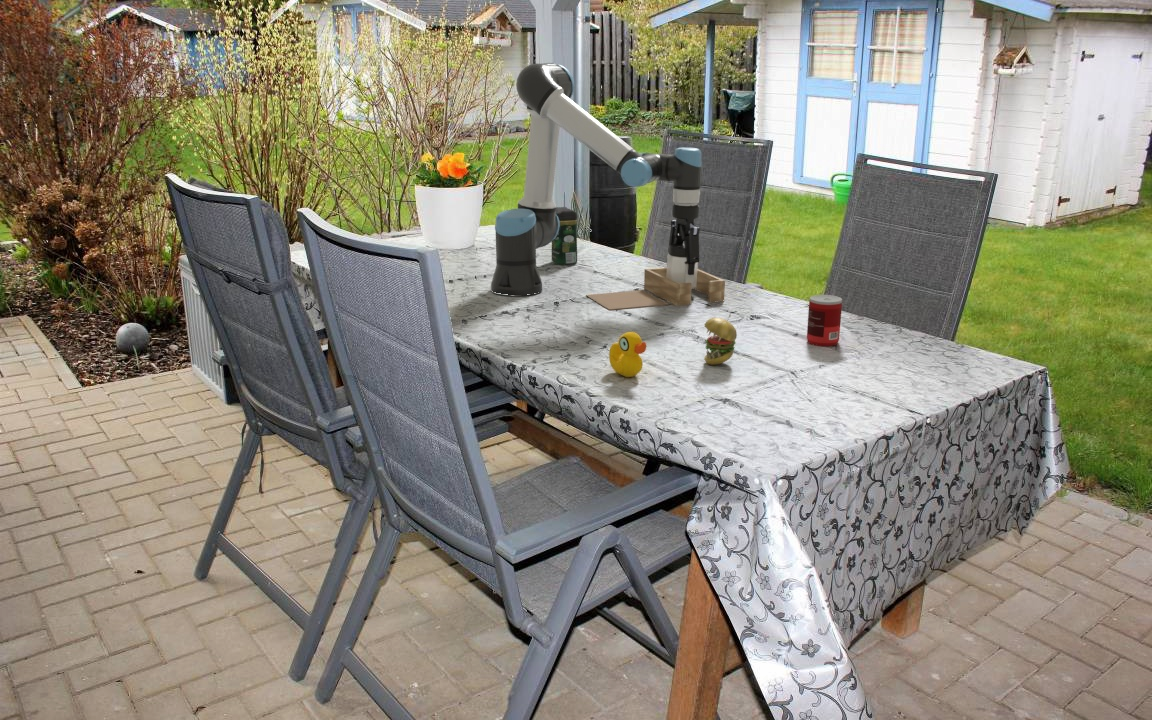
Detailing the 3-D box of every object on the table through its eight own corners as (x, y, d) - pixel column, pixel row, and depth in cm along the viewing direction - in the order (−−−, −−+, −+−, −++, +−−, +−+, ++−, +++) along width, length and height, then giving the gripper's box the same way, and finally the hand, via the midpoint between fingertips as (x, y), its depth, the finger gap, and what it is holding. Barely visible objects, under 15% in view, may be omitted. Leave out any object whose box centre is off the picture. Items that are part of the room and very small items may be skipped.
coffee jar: (548, 261, 338) (548, 206, 332) (570, 259, 340) (570, 205, 335) (557, 266, 329) (557, 210, 323) (580, 265, 331) (580, 209, 326)
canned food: (840, 339, 245) (843, 295, 242) (837, 348, 238) (840, 303, 235) (808, 336, 248) (811, 293, 245) (804, 345, 241) (807, 300, 237)
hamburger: (701, 358, 230) (703, 308, 226) (733, 358, 230) (735, 308, 226) (704, 368, 223) (706, 316, 219) (737, 368, 222) (739, 316, 219)
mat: (609, 310, 273) (609, 309, 273) (586, 295, 289) (586, 294, 289) (669, 304, 279) (669, 303, 279) (642, 291, 295) (642, 290, 295)
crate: (676, 305, 278) (676, 284, 276) (644, 288, 298) (644, 269, 296) (724, 301, 283) (725, 280, 281) (689, 285, 303) (690, 265, 301)
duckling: (654, 380, 214) (655, 335, 212) (634, 385, 212) (635, 339, 209) (621, 367, 223) (622, 324, 220) (602, 371, 220) (603, 327, 217)
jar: (681, 291, 284) (684, 250, 281) (660, 286, 290) (662, 245, 286) (701, 286, 290) (704, 246, 287) (680, 281, 296) (682, 241, 292)
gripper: (715, 208, 274) (710, 289, 281) (681, 197, 293) (678, 273, 300) (690, 209, 272) (686, 291, 279) (658, 198, 291) (655, 275, 297)
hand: (682, 282), depth 289 cm, fingers closed on jar, 8 cm apart
